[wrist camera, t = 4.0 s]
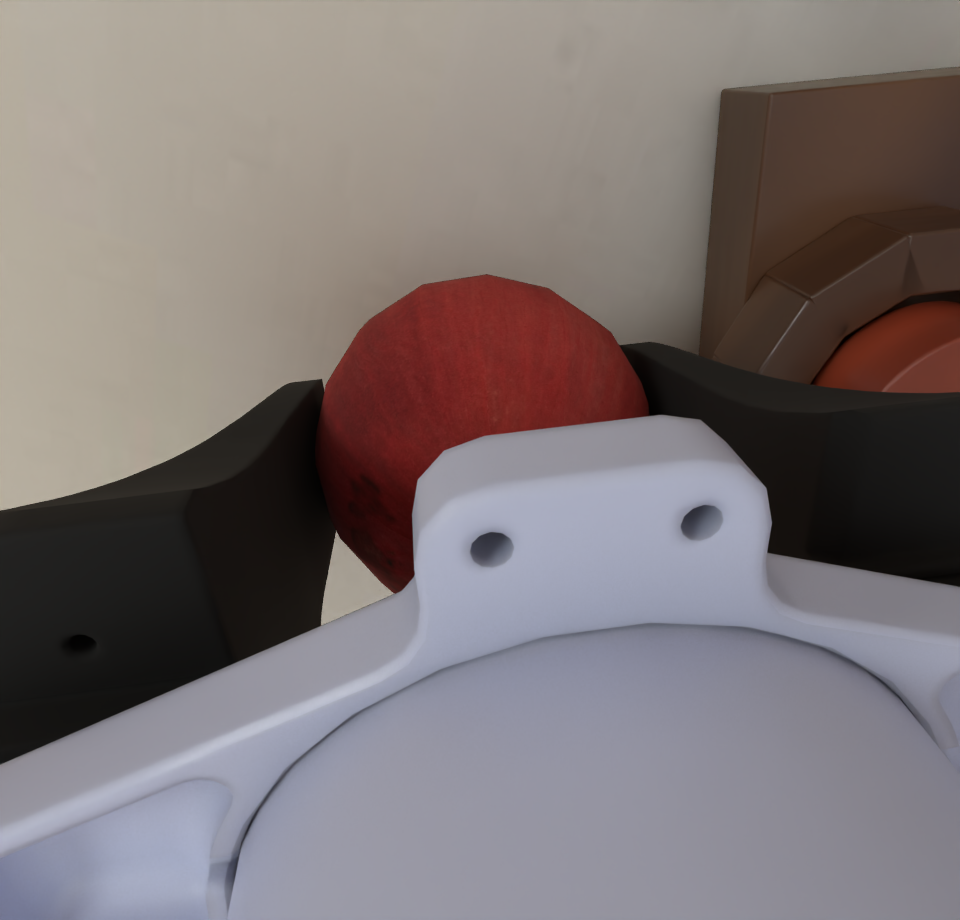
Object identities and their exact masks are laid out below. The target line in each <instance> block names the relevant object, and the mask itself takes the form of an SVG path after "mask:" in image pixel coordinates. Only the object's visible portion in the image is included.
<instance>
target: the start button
mask: <svg viewBox="0 0 960 920" xmlns="http://www.w3.org/2000/svg"><path fill="white" fill-rule="evenodd" d="M812 385H816V386H823V387H830V388H840V389H850V390H860V391H875V392H897V393H949V392H960V303H957V302H949V301H930V302H923V303H918V304H912V305H909V306H906V307H902V308H899V309H897V310H894V311H892V312H889V313H887V314H885V315H883V316H881V317H879V318H877V319H876V320H874V321H872V322H870V323H869V324H867V325H866V326H864V327H863V328H861V329H860V330H859V331H857V332H856V333H855V334H854V335H852V336H851V337H850V338H849V339H848V340H846V341H845V342H844V343H843V344H842V345H841V346H840V347H839V348H838V349H837V350H836V351H835V352H834V353H833V355H832V356H831V357H830V358H829V360H828V361H827V362H826V363H825V365H824V366H823V367H822V369H821V371H820V372H819V374H818V375H817V377H816V378H815V380H814V382H813V384H812Z"/></svg>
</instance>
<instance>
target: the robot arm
mask: <svg viewBox="0 0 960 920" xmlns="http://www.w3.org/2000/svg"><path fill="white" fill-rule="evenodd" d="M619 346H620V348H621V349H622V351H623V353H624V354H625V356H626V358H627V359H628V361H629V363H630V364H631V366H632V368H633V369H634V371H635V372H636V374H637V376H638V377H639V379H640V381H641V383H642V386H643V389H644V392H645V395H646V398H647V400H648V405H649V415H650V416H647V417H638V418H630V419H622V420H613V421H605V422H597V423H588V424H580V425H571V426H563V427H555V428H546V429H538V430H529V431H521V432H513V433H504V434H496V435H488V436H483V437H480V438H477V439H474V440H472V441H469V442H466V443H463V444H461V445H458V446H455V447H452V448H450V449H447V450H444V451H443V452H442V453H441V454H440V456H439V457H438V458H437V459H436V460H435V461H434V462H433V463H432V464H431V466H430V467H429V468H428V469H427V470H426V471H425V472H424V473H423V474H422V476H421V477H420V478H419V479H418V481H417V487H416V493H415V499H414V505H413V512H412V526H413V553H414V571H415V575H414V577H413V578H412V580H411V581H410V582H409V583H408V584H407V586H406V587H405V588H404V589H403V590H402V591H400V592H398V593H396V594H393V595H391V596H389V597H386V598H384V599H382V600H379V601H377V602H375V603H373V604H370V605H368V606H366V607H363V608H361V609H359V610H356V611H354V612H352V613H349V614H347V615H345V616H342V617H340V618H338V619H336V620H333V621H331V622H329V623H326V624H324V625H322V626H321V612H322V604H323V597H324V591H325V585H326V580H327V575H328V570H329V565H330V559H331V554H332V549H333V544H334V539H335V533H336V529H335V527H334V525H333V523H332V521H331V518H330V515H329V511H328V507H327V504H326V500H325V496H324V493H323V489H322V486H321V482H320V478H319V475H318V471H317V467H316V461H315V443H316V431H317V426H318V421H319V416H320V411H321V407H322V402H323V397H324V387H323V382H322V379H319V380H310V381H301V382H293V383H289V384H286V385H284V386H283V387H281V388H280V389H278V390H277V391H275V392H274V393H273V394H271V395H270V396H269V397H267V398H266V399H265V400H263V401H262V402H261V403H259V404H258V405H257V406H255V407H254V408H253V409H251V410H250V411H249V412H247V413H246V414H245V415H243V416H242V417H241V418H239V419H238V420H236V421H235V422H233V423H232V424H230V425H229V426H227V427H226V428H224V429H223V430H221V431H220V432H218V433H217V434H215V435H214V436H212V437H211V438H209V439H207V440H206V441H204V442H202V443H201V444H199V445H197V446H195V447H194V448H192V449H190V450H188V451H186V452H184V453H182V454H180V455H178V456H176V457H174V458H172V459H170V460H168V461H166V462H164V463H161V464H159V465H156V466H154V467H151V468H149V469H146V470H144V471H141V472H139V473H137V474H134V475H132V476H129V477H127V478H124V479H121V480H118V481H115V482H112V483H109V484H106V485H103V486H100V487H97V488H94V489H90V490H87V491H83V492H80V493H76V494H73V495H69V496H65V497H61V498H57V499H53V500H48V501H44V502H39V503H34V504H30V505H25V506H21V507H16V508H11V509H7V510H1V511H0V920H960V392H949V393H897V392H875V391H860V390H850V389H840V388H830V387H823V386H816V385H809V384H804V383H799V382H793V381H788V380H783V379H778V378H773V377H769V376H765V375H761V374H757V373H754V372H750V371H746V370H743V369H739V368H736V367H732V366H729V365H726V364H723V363H720V362H717V361H714V360H711V359H708V358H705V357H702V356H699V355H696V354H693V353H690V352H687V351H684V350H681V349H678V348H674V347H671V346H668V345H664V344H660V343H654V342H645V343H636V344H628V345H619Z"/></svg>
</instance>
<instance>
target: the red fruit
mask: <svg viewBox="0 0 960 920" xmlns="http://www.w3.org/2000/svg"><path fill="white" fill-rule="evenodd" d="M647 416H650V415H649V405H648V400H647V398H646V395H645V392H644V389H643V386H642V383H641V381H640V379H639V377H638V376H637V374H636V372H635V371H634V369H633V368H632V366H631V364H630V363H629V361H628V359H627V358H626V356H625V354H624V353H623V351H622V349H621V348H620V346H619V345H618V343H617V341H616V340H615V338H614V336H613V335H612V333H611V332H610V331H608V330H607V329H606V328H605V327H603V326H602V325H601V324H599V323H598V322H597V321H595V320H594V319H592V318H591V317H590V316H588V315H587V314H585V313H584V312H582V311H581V310H579V309H578V308H576V307H575V306H574V305H572V304H571V303H569V302H568V301H566V300H565V299H563V298H562V297H560V296H559V295H558V294H556V293H555V292H553V291H552V290H550V289H549V288H545V287H541V286H537V285H532V284H528V283H523V282H519V281H514V280H510V279H505V278H501V277H497V276H492V275H488V274H486V275H480V276H473V277H467V278H461V279H455V280H449V281H442V282H436V283H430V284H424V285H421V286H420V287H418V288H417V289H415V290H414V291H412V292H411V293H409V294H408V295H406V296H404V297H403V298H401V299H400V300H398V301H397V302H395V303H394V304H392V305H391V306H389V307H388V308H386V309H385V310H383V311H382V312H380V313H379V314H377V315H375V316H374V317H372V318H371V319H370V320H369V321H368V322H367V323H366V324H365V325H364V326H363V327H362V328H361V329H360V330H359V332H358V333H357V335H356V337H355V338H354V340H353V341H352V343H351V345H350V346H349V348H348V349H347V351H346V353H345V354H344V356H343V358H342V359H341V361H340V362H339V364H338V365H337V367H336V369H335V370H334V372H333V374H332V375H331V377H330V379H329V380H328V382H327V384H326V387H325V392H324V397H323V402H322V407H321V411H320V416H319V421H318V426H317V431H316V443H315V461H316V467H317V471H318V475H319V478H320V482H321V486H322V489H323V493H324V496H325V500H326V504H327V507H328V511H329V515H330V518H331V521H332V523H333V525H334V527H335V529H336V531H337V533H338V535H339V537H340V539H341V540H342V541H343V542H344V543H345V544H346V545H347V546H348V547H349V548H350V549H351V550H352V551H353V553H354V554H355V555H356V556H357V557H358V558H359V559H360V560H361V561H362V562H363V563H364V564H365V566H366V567H367V568H368V569H369V570H370V571H371V572H372V573H373V574H374V575H375V576H376V577H377V578H378V580H379V581H380V582H381V583H383V584H384V585H385V586H386V587H387V588H388V589H389V590H391V591H392V592H393V593H395V594H396V593H398V592H400V591H402V590H403V589H404V588H405V587H406V586H407V584H408V583H409V582H410V581H411V580H412V578H413V577H414V575H415V571H414V553H413V526H412V512H413V505H414V499H415V493H416V487H417V481H418V479H419V478H420V477H421V476H422V474H423V473H424V472H425V471H426V470H427V469H428V468H429V467H430V466H431V464H432V463H433V462H434V461H435V460H436V459H437V458H438V457H439V456H440V454H441V453H442V452H443V451H444V450H447V449H450V448H452V447H455V446H458V445H461V444H463V443H466V442H469V441H472V440H474V439H477V438H480V437H483V436H488V435H496V434H504V433H513V432H521V431H529V430H538V429H546V428H555V427H563V426H571V425H580V424H588V423H597V422H605V421H613V420H622V419H630V418H638V417H647Z"/></svg>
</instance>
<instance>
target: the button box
mask: <svg viewBox="0 0 960 920" xmlns="http://www.w3.org/2000/svg"><path fill="white" fill-rule="evenodd" d="M930 301H949V302H957V303H960V67H951V68H940V69H930V70H919V71H908V72H898V73H887V74H877V75H866V76H855V77H845V78H834V79H824V80H813V81H803V82H792V83H781V84H771V85H760V86H750V87H739V88H729V89H724V90H722V94H721V105H720V117H719V128H718V140H717V151H716V163H715V174H714V186H713V197H712V209H711V220H710V232H709V243H708V255H707V267H706V278H705V290H704V301H703V313H702V324H701V336H700V347H699V356H702V357H705V358H708V359H711V360H714V361H717V362H720V363H723V364H726V365H729V366H732V367H736V368H739V369H743V370H746V371H750V372H754V373H757V374H761V375H765V376H769V377H773V378H778V379H783V380H788V381H793V382H799V383H804V384H809V385H812V384H813V382H814V380H815V378H816V377H817V375H818V374H819V372H820V371H821V369H822V367H823V366H824V365H825V363H826V362H827V361H828V360H829V358H830V357H831V356H832V355H833V353H834V352H835V351H836V350H837V349H838V348H839V347H840V346H841V345H842V344H843V343H844V342H845V341H846V340H848V339H849V338H850V337H851V336H852V335H854V334H855V333H856V332H857V331H859V330H860V329H861V328H863V327H864V326H866V325H867V324H869V323H870V322H872V321H874V320H876V319H877V318H879V317H881V316H883V315H885V314H887V313H889V312H892V311H894V310H897V309H899V308H902V307H906V306H909V305H912V304H918V303H923V302H930Z"/></svg>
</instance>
